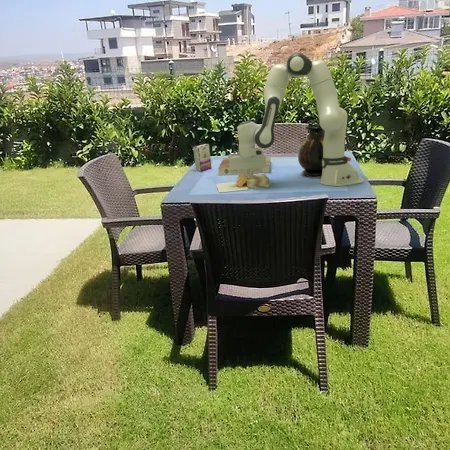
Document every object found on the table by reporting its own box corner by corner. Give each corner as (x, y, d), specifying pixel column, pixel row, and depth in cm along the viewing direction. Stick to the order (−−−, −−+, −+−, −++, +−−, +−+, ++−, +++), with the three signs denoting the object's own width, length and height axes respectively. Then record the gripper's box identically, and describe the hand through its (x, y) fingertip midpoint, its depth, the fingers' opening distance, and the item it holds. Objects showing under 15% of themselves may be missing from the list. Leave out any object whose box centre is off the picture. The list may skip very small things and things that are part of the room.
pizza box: (218, 168, 274) (223, 158, 304) (218, 176, 276) (224, 165, 306) (270, 165, 270) (270, 155, 300) (270, 173, 272) (270, 163, 302)
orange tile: (245, 175, 249) (242, 173, 249) (247, 179, 241) (245, 176, 240) (238, 183, 251) (235, 181, 250) (240, 187, 242) (237, 185, 241)
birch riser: (264, 180, 254) (264, 173, 253) (269, 186, 241) (269, 179, 240) (244, 182, 253) (243, 176, 252) (247, 188, 240) (247, 181, 239)
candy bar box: (206, 168, 300) (203, 143, 295) (211, 168, 298) (209, 144, 292) (195, 171, 292) (192, 146, 287) (200, 172, 289) (198, 147, 284)
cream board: (243, 181, 256) (243, 180, 256) (248, 190, 237) (248, 189, 237) (215, 184, 255) (215, 183, 255) (219, 193, 236) (219, 192, 236)
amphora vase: (336, 177, 248) (336, 127, 239) (297, 178, 253) (296, 129, 244) (335, 169, 268) (335, 122, 259) (299, 170, 273) (298, 124, 263)
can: (240, 180, 259) (239, 160, 255) (237, 177, 267) (235, 157, 263) (255, 178, 260) (254, 158, 256) (251, 175, 269) (250, 156, 265)
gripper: (228, 154, 237) (230, 179, 242) (266, 151, 239) (267, 176, 243) (227, 152, 243) (229, 177, 247) (264, 149, 244) (265, 173, 249)
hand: (248, 176), depth 245 cm, fingers closed
